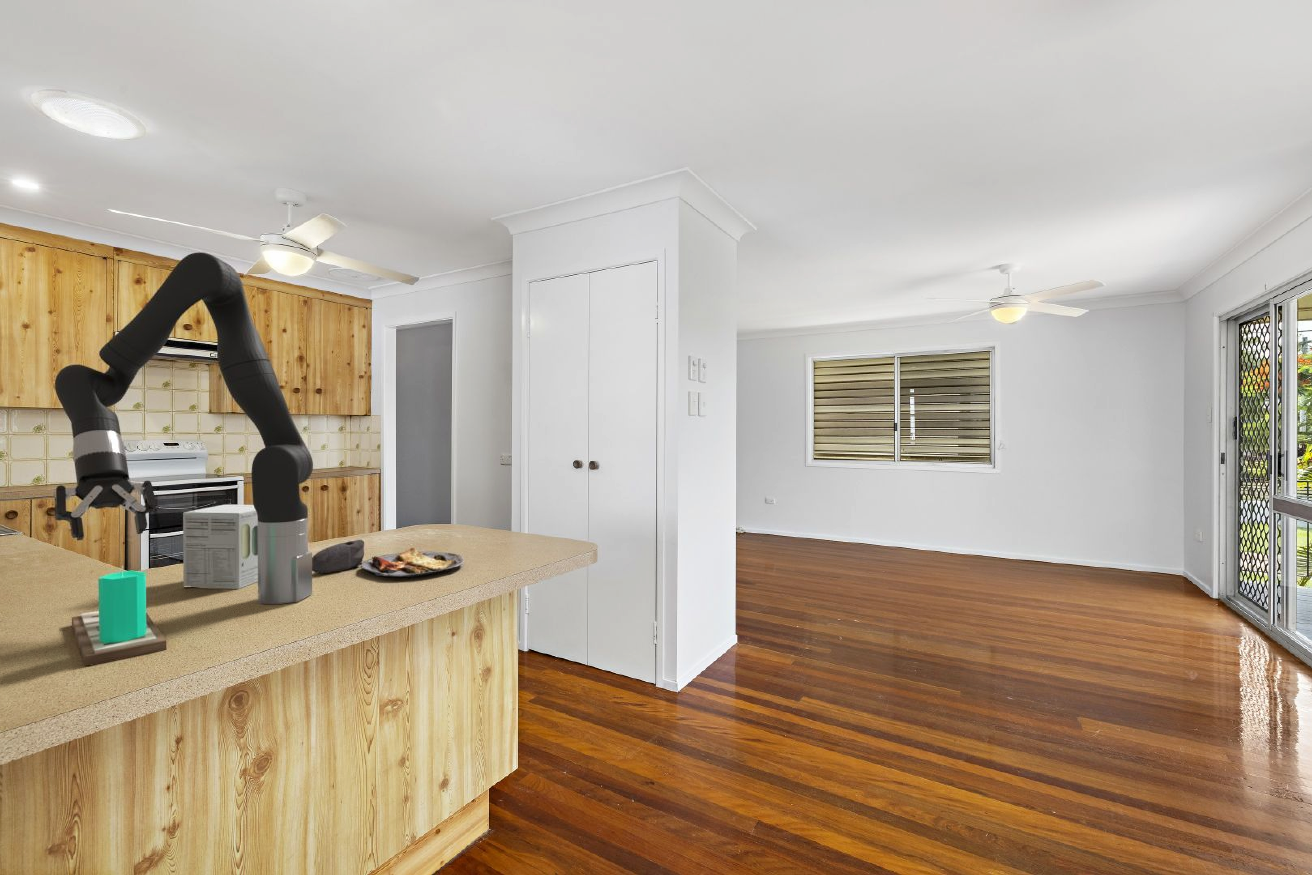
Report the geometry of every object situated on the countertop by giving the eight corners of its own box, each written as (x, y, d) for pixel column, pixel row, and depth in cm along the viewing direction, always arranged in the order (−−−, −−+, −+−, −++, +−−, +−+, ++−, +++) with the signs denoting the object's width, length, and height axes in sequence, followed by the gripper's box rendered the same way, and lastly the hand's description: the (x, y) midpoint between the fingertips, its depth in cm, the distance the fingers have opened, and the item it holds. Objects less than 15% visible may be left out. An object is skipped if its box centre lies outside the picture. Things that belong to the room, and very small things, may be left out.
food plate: (343, 569, 157) (344, 555, 157) (423, 554, 176) (424, 542, 176) (400, 588, 143) (400, 573, 142) (480, 570, 162) (481, 557, 162)
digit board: (71, 625, 114) (71, 614, 114) (141, 613, 121) (141, 602, 121) (85, 666, 95) (85, 653, 95) (166, 649, 103) (166, 637, 102)
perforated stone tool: (315, 578, 149) (315, 550, 148) (303, 575, 151) (303, 547, 151) (371, 566, 162) (371, 540, 161) (359, 563, 164) (359, 537, 164)
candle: (118, 644, 99) (117, 571, 99) (89, 641, 100) (88, 568, 100) (155, 631, 105) (154, 562, 104) (128, 629, 106) (127, 560, 106)
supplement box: (239, 589, 138) (238, 512, 138) (182, 588, 138) (181, 512, 138) (276, 574, 151) (276, 504, 151) (224, 573, 152) (224, 503, 151)
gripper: (52, 451, 111) (62, 533, 107) (151, 448, 123) (163, 522, 118) (46, 469, 116) (56, 549, 111) (142, 465, 127) (154, 537, 122)
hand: (111, 535), depth 115 cm, fingers open, 8 cm apart
